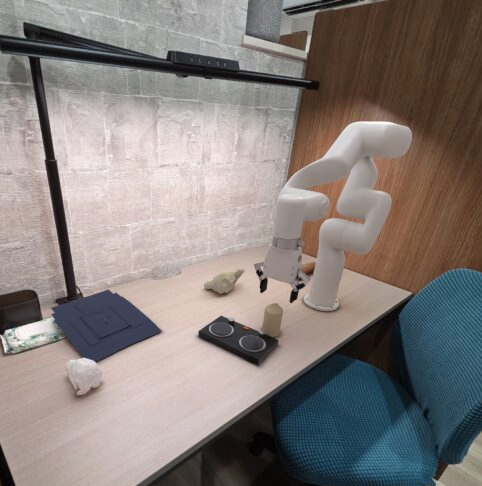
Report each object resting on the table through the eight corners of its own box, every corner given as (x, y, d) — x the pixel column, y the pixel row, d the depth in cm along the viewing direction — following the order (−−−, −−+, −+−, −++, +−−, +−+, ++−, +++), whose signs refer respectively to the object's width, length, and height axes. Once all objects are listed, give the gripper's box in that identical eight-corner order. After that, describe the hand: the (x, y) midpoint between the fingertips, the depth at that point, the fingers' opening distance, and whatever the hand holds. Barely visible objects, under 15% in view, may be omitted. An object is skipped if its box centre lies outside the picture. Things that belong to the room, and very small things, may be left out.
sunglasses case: (303, 264, 152) (312, 254, 147) (313, 274, 150) (322, 265, 145) (283, 274, 140) (292, 264, 135) (294, 286, 138) (303, 276, 133)
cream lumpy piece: (204, 302, 121) (236, 285, 113) (197, 285, 121) (228, 266, 114) (222, 298, 134) (252, 282, 126) (215, 283, 135) (244, 266, 127)
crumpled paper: (75, 372, 69) (52, 352, 76) (83, 403, 72) (60, 380, 80) (101, 359, 73) (77, 341, 80) (107, 389, 76) (84, 368, 84)
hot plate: (220, 320, 106) (221, 312, 104) (277, 345, 95) (279, 336, 93) (198, 336, 97) (198, 327, 96) (258, 365, 86) (259, 356, 84)
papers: (113, 294, 117) (113, 285, 115) (162, 337, 100) (163, 328, 98) (45, 316, 102) (44, 307, 100) (90, 371, 85) (89, 362, 83)
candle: (268, 325, 104) (272, 298, 99) (282, 332, 101) (287, 305, 96) (258, 331, 101) (262, 304, 96) (272, 339, 97) (277, 311, 92)
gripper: (321, 245, 84) (309, 300, 93) (264, 232, 94) (258, 283, 102) (310, 252, 79) (299, 310, 88) (251, 238, 88) (246, 292, 97)
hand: (277, 296), depth 95 cm, fingers open, 9 cm apart
